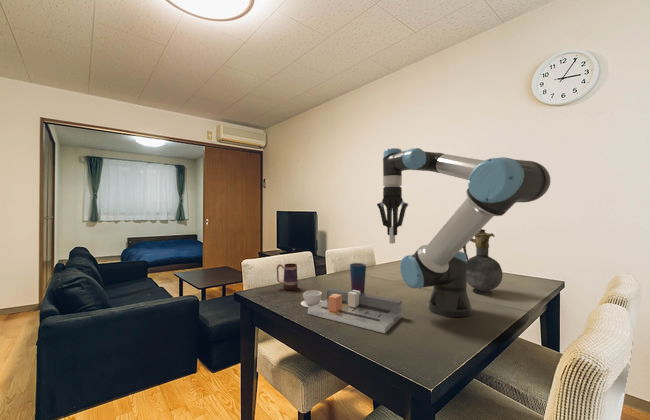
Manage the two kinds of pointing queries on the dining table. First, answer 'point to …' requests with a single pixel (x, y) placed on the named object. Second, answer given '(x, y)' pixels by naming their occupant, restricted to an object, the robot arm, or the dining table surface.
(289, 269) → the mug
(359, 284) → the cup
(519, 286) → the dining table surface
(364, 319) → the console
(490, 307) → the dining table surface
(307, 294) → the teacup
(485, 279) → the pitcher
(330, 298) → the block
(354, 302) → the fader
